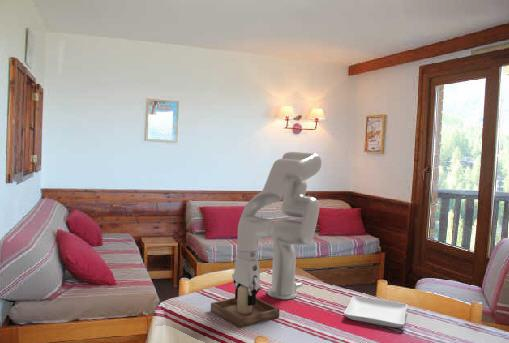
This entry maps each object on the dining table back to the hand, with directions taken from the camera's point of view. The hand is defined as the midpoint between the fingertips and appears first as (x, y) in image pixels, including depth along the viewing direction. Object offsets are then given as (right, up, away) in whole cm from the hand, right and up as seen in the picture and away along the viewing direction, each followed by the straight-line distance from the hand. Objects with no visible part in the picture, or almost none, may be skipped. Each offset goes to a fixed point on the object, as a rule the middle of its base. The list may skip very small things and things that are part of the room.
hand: (245, 301), depth 166 cm
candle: (0, -4, +1) cm, 4 cm away
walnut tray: (0, -5, 0) cm, 5 cm away
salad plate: (+49, -7, +4) cm, 50 cm away
